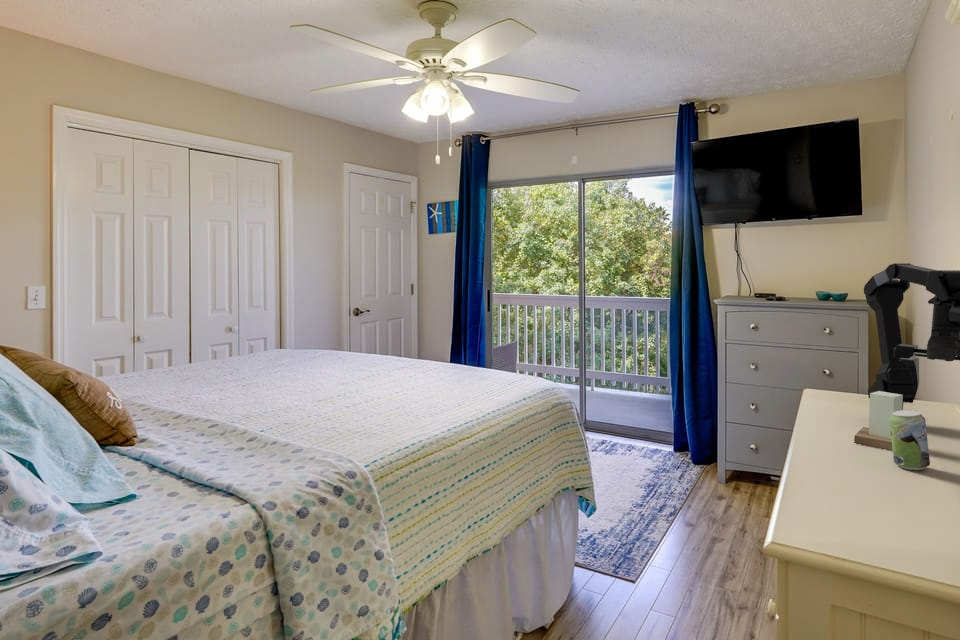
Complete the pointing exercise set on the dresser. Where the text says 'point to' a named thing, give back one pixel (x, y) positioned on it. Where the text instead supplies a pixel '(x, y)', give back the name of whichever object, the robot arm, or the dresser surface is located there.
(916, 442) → the beverage can
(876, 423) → the sage block
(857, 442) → the walnut block
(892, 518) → the dresser surface
